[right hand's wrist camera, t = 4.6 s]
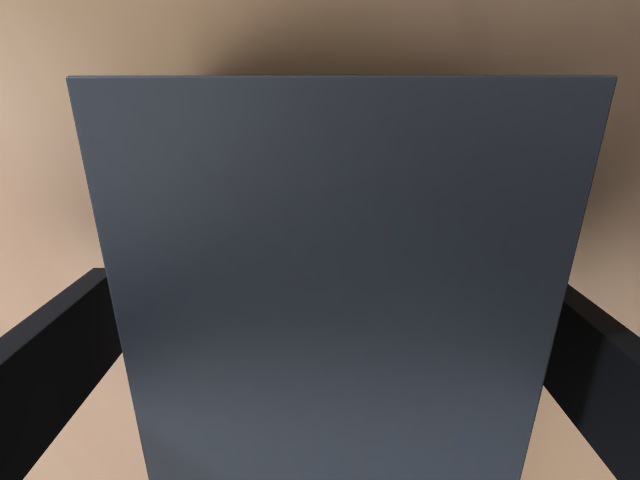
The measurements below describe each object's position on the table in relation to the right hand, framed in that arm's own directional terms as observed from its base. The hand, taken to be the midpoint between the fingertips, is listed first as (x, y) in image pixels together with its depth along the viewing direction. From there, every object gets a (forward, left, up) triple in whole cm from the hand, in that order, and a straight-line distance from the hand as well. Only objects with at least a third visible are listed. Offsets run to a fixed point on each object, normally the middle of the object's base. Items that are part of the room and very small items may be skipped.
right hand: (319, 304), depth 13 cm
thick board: (-3, +28, -3) cm, 28 cm away
